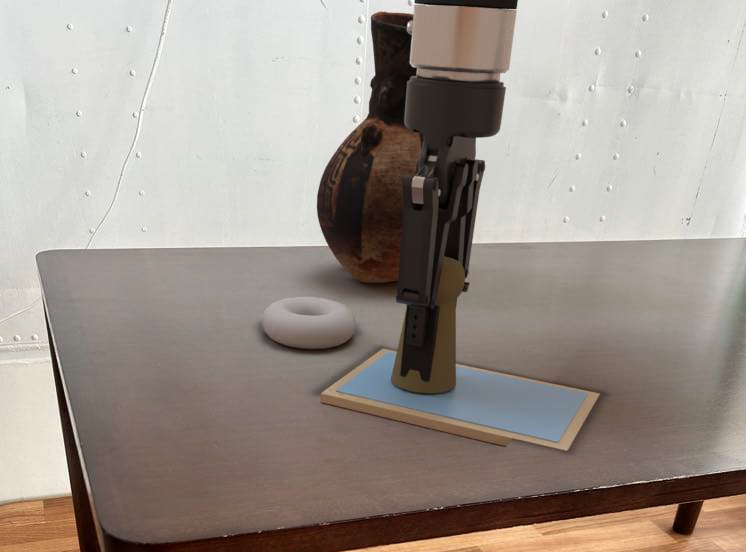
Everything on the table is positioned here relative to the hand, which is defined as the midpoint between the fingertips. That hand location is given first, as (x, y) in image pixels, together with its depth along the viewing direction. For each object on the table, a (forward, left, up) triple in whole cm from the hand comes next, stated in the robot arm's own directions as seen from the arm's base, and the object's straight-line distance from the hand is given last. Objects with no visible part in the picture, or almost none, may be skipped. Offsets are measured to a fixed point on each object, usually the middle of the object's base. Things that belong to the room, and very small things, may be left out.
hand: (425, 368), depth 74 cm
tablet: (-4, 0, -2) cm, 5 cm away
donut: (+16, -8, -3) cm, 18 cm away
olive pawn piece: (0, 0, -1) cm, 1 cm away
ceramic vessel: (+19, -35, -3) cm, 40 cm away
